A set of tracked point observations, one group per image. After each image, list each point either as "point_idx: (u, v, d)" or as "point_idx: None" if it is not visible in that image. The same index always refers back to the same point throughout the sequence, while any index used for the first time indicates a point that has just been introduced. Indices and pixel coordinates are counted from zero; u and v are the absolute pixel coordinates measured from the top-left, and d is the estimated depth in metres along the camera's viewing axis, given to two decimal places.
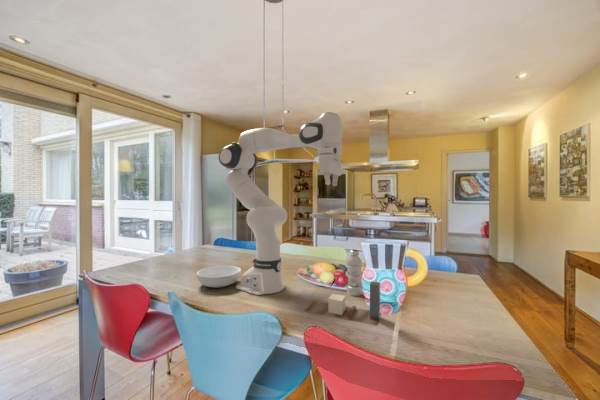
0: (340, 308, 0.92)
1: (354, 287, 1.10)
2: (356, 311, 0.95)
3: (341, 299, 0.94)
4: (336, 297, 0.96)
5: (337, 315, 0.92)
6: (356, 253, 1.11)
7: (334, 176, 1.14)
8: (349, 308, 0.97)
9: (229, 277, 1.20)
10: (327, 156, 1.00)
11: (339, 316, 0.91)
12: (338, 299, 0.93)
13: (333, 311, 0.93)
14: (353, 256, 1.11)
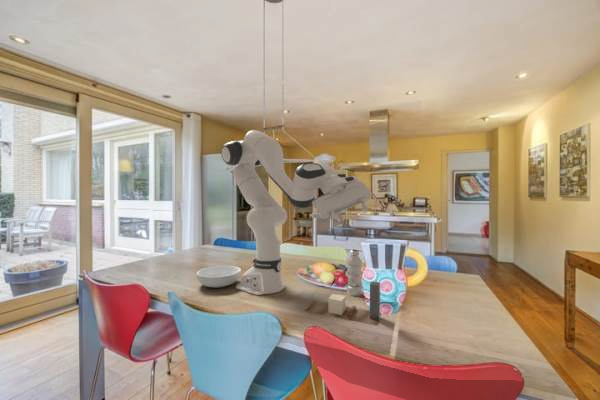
0: (340, 308, 0.92)
1: (354, 287, 1.10)
2: (356, 311, 0.95)
3: (341, 299, 0.94)
4: (336, 297, 0.96)
5: (337, 315, 0.92)
6: (356, 253, 1.11)
7: None
8: (349, 308, 0.97)
9: (229, 277, 1.20)
10: None
11: (339, 316, 0.91)
12: (338, 299, 0.93)
13: (333, 311, 0.93)
14: (353, 256, 1.11)
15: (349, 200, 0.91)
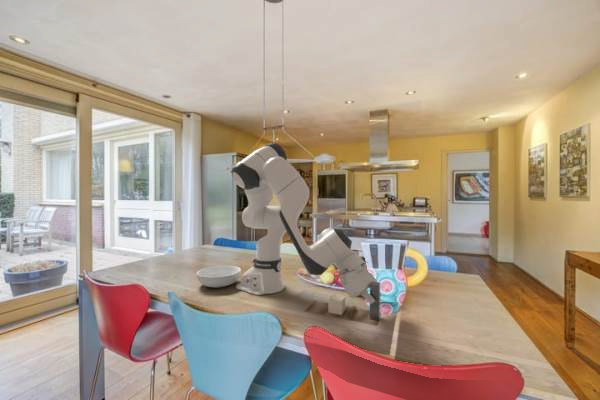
0: (340, 308, 0.92)
1: None
2: (356, 311, 0.95)
3: (341, 299, 0.94)
4: (336, 297, 0.96)
5: (337, 315, 0.92)
6: (356, 253, 1.11)
7: None
8: (349, 308, 0.97)
9: (229, 277, 1.20)
10: None
11: (339, 316, 0.91)
12: (338, 299, 0.93)
13: (333, 311, 0.93)
14: None
15: None
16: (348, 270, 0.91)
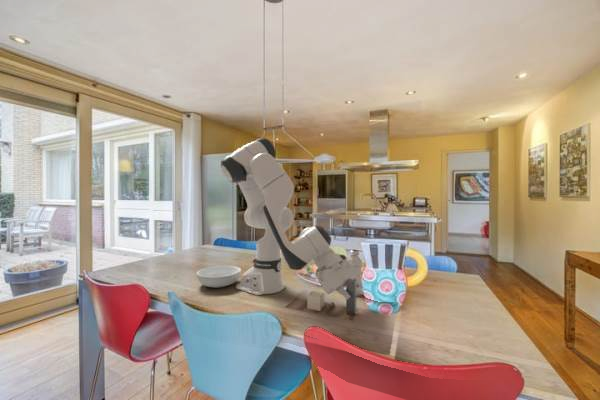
0: (318, 304, 0.96)
1: None
2: (334, 307, 0.98)
3: (320, 295, 0.97)
4: (315, 293, 0.99)
5: (315, 311, 0.95)
6: (356, 253, 1.11)
7: None
8: (328, 304, 1.01)
9: (229, 277, 1.20)
10: None
11: (317, 312, 0.94)
12: (317, 295, 0.97)
13: (312, 307, 0.97)
14: (353, 256, 1.11)
15: None
16: (326, 267, 0.95)
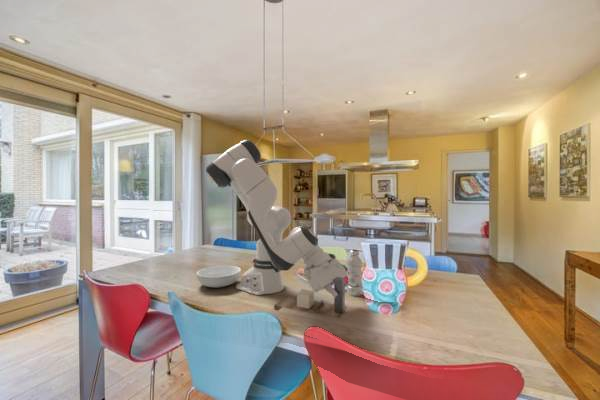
0: (307, 302, 0.97)
1: (354, 287, 1.10)
2: (323, 305, 1.00)
3: (309, 293, 0.99)
4: (304, 291, 1.01)
5: (304, 309, 0.97)
6: (356, 253, 1.11)
7: None
8: (317, 302, 1.03)
9: (229, 277, 1.20)
10: None
11: (306, 310, 0.96)
12: (306, 294, 0.99)
13: (301, 305, 0.99)
14: (353, 256, 1.11)
15: None
16: (314, 266, 0.96)
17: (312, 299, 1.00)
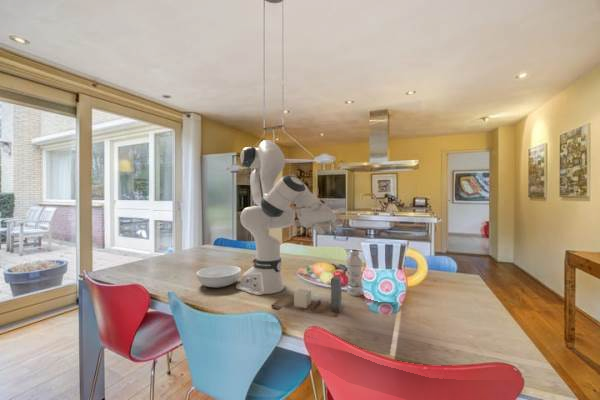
0: (304, 302, 0.98)
1: (354, 287, 1.10)
2: (320, 305, 1.01)
3: (306, 293, 0.99)
4: (301, 291, 1.01)
5: (301, 308, 0.97)
6: (356, 253, 1.11)
7: None
8: (315, 302, 1.03)
9: (229, 277, 1.20)
10: None
11: (303, 309, 0.97)
12: (303, 293, 0.99)
13: (298, 304, 0.99)
14: (353, 256, 1.11)
15: (326, 219, 1.04)
16: (305, 207, 1.03)
17: (309, 298, 1.01)
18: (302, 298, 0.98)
